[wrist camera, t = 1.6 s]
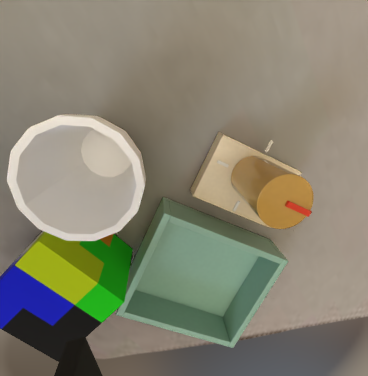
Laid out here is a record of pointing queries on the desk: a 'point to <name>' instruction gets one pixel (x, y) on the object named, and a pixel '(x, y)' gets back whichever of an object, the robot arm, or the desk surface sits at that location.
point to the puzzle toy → (63, 290)
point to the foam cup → (77, 177)
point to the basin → (199, 275)
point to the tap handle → (272, 192)
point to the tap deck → (227, 176)
